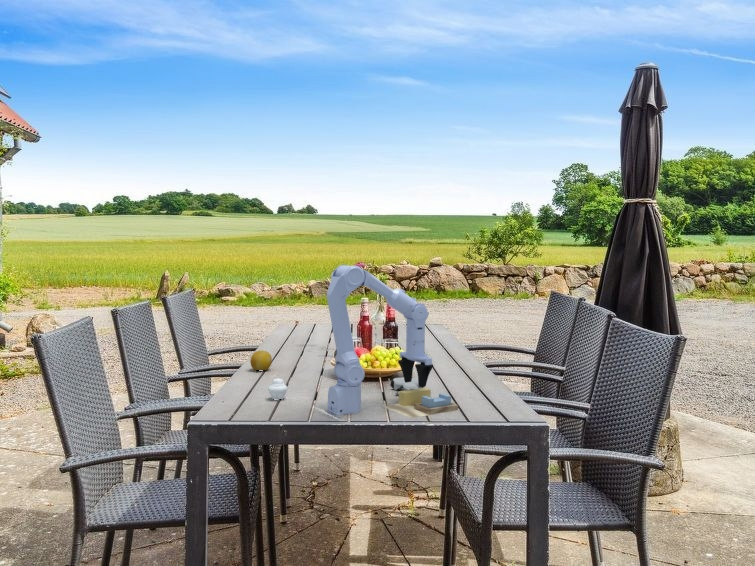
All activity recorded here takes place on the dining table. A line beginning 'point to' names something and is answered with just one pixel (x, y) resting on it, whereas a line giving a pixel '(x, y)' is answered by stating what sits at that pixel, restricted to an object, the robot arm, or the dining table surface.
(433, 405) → the blue notched block
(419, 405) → the jig
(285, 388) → the white lidded jar
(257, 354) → the fruit
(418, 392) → the yellow rectangular block
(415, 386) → the robot toy
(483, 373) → the dining table surface
